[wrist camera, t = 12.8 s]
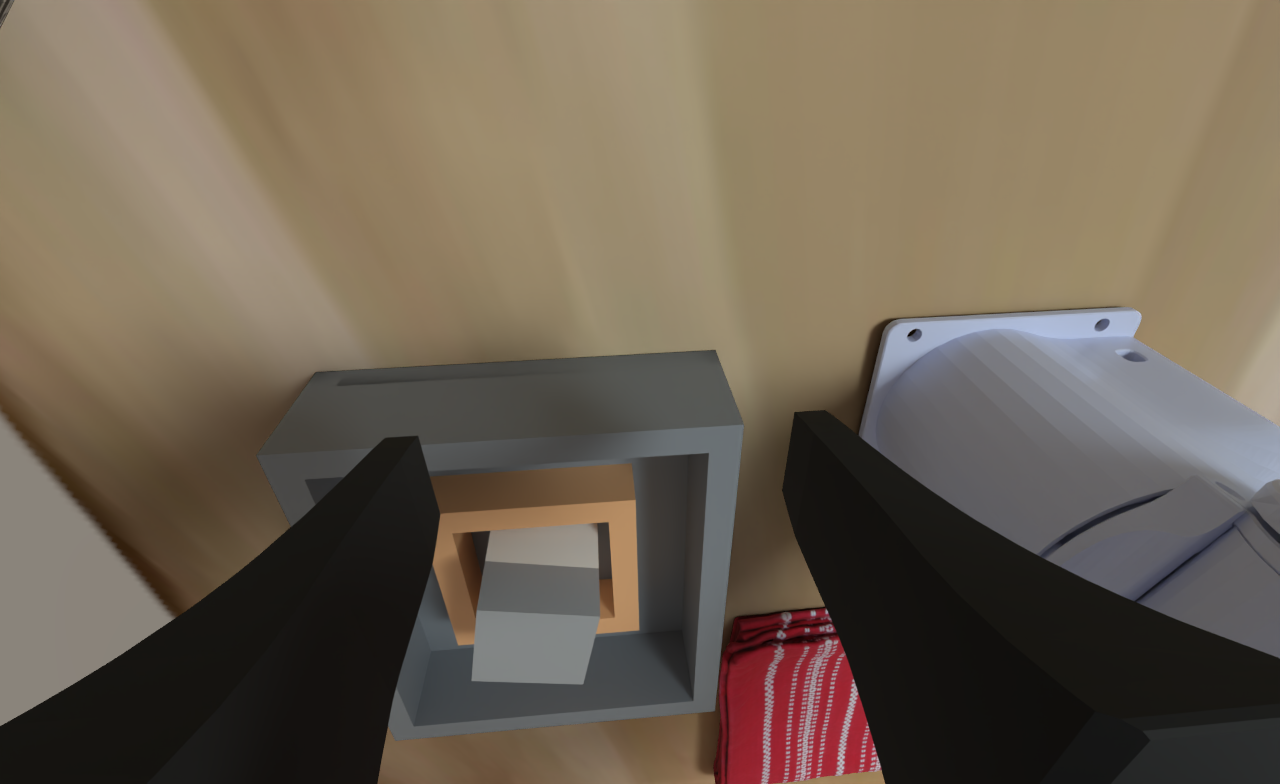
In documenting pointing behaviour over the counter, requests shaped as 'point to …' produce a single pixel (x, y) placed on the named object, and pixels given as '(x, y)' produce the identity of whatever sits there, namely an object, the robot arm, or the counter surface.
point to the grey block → (538, 605)
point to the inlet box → (547, 517)
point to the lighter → (4, 9)
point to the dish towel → (789, 703)
